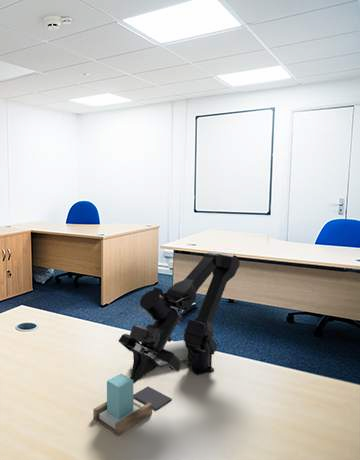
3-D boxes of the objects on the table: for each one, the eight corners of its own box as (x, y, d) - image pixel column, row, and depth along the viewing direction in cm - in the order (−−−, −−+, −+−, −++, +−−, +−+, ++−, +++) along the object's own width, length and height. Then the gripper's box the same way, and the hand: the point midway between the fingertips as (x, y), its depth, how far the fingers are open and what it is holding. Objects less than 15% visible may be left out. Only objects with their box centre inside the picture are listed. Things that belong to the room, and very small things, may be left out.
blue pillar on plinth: (124, 403, 91) (124, 369, 90) (140, 413, 87) (140, 378, 86) (99, 418, 85) (99, 382, 84) (115, 429, 81) (115, 391, 80)
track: (127, 398, 94) (127, 390, 93) (152, 413, 88) (152, 403, 88) (93, 418, 85) (93, 408, 85) (118, 435, 79) (118, 425, 79)
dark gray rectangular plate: (147, 387, 99) (147, 386, 99) (171, 400, 94) (171, 398, 94) (132, 396, 95) (132, 395, 95) (156, 410, 89) (156, 408, 89)
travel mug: (141, 368, 105) (199, 355, 114) (136, 346, 108) (193, 336, 117) (135, 373, 110) (191, 361, 119) (131, 352, 113) (186, 342, 122)
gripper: (123, 305, 96) (90, 356, 89) (175, 321, 84) (141, 383, 77) (144, 325, 103) (114, 374, 96) (194, 343, 91) (164, 401, 84)
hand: (131, 382), depth 88 cm, fingers closed
